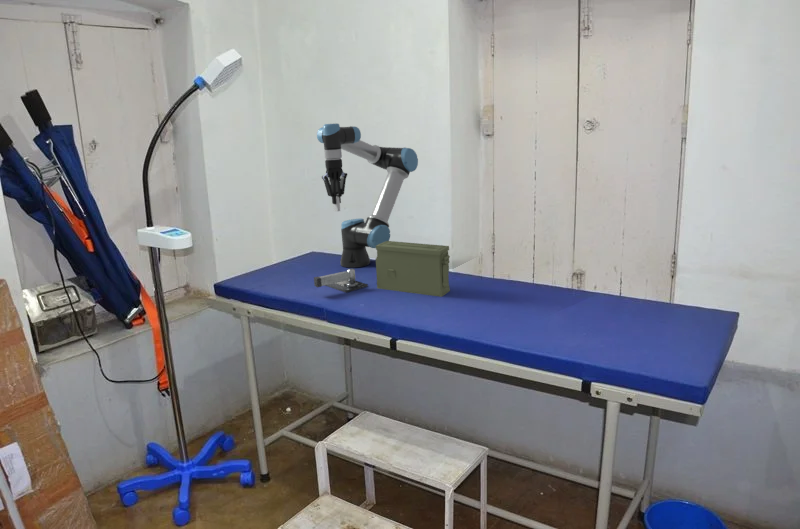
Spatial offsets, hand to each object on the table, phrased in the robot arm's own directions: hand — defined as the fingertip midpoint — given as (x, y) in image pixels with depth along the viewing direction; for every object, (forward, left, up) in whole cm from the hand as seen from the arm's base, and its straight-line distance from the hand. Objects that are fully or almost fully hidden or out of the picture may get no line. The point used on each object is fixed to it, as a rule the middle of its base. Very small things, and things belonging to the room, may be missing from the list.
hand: (337, 210), depth 276 cm
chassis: (+6, +8, -32) cm, 34 cm away
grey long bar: (+14, +15, -30) cm, 36 cm away
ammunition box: (-11, +39, -33) cm, 52 cm away
